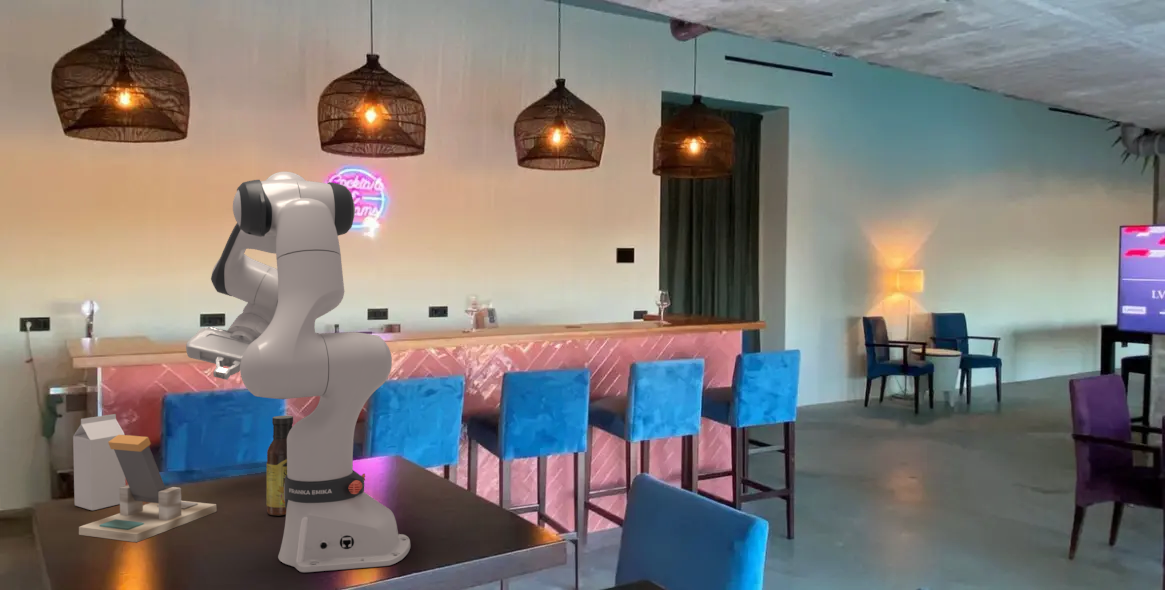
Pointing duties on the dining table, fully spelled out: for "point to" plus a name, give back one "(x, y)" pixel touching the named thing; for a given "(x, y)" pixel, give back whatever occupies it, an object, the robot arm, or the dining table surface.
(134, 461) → the rocker lever
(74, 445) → the milk carton
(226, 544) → the dining table surface
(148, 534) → the switch base
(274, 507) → the sauce bottle
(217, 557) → the dining table surface
